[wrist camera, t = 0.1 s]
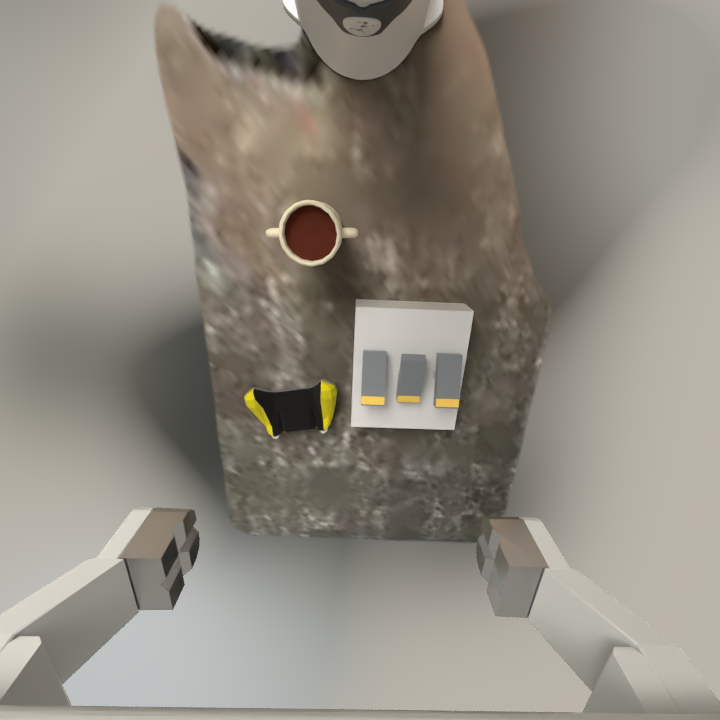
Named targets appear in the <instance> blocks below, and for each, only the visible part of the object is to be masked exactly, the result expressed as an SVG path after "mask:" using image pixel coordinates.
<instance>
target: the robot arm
mask: <svg viewBox="0 0 720 720" xmlns="http://www.w3.org/2000/svg"><path fill="white" fill-rule="evenodd" d="M282 2H283V7H284V9H285V11H286V13H287V14H288V15H289V16H290V17H291V18H292V19H293V20H294V21H295V22H296V23H297V24H298V25H300V26H301V27H302V28H303V30H304V31H305V33H306V34H307V36H308V38H309V40H310V42H311V44H312V46H313V48H314V49H315V51H316V52H317V54H318V55H319V56H320V58H321V59H322V60H323V61H324V62H325V63H326V64H327V65H328V66H329V67H330V68H331V69H333V70H334V71H336V72H337V73H339V74H341V75H343V76H345V77H348V78H352V79H357V80H369V79H374V78H378V77H381V76H383V75H385V74H387V73H389V72H390V71H392V70H393V69H394V68H396V67H397V66H398V65H399V64H400V63H401V62H402V61H403V60H404V59H405V58H406V56H407V55H408V54H409V52H410V51H411V49H412V47H413V46H414V44H415V42H416V41H417V39H418V38H419V37H420V36H421V35H422V34H423V33H424V32H426V31H427V30H429V29H430V28H431V27H433V26H434V25H435V24H436V23H437V22H438V21H439V19H440V18H441V16H442V12H443V0H282ZM195 522H196V516H195V511H194V510H191V509H174V508H148V507H137V508H135V509H134V510H132V512H131V513H130V514H129V515H128V517H127V518H126V520H125V521H124V522H123V523H122V525H121V526H120V527H119V528H118V530H117V531H116V532H115V534H114V535H113V536H112V538H111V539H110V540H109V542H108V543H107V544H106V546H105V547H104V548H103V550H102V551H101V552H100V554H99V555H98V556H97V557H96V558H90V559H88V560H86V561H85V562H83V563H82V564H80V565H79V566H77V567H75V568H74V569H72V570H71V571H69V572H67V573H66V574H64V575H62V576H61V577H59V578H58V579H56V580H55V581H53V582H51V583H50V584H48V585H46V586H45V587H43V588H42V589H40V590H38V591H37V592H35V593H34V594H32V595H31V596H29V597H27V598H26V599H24V600H23V601H21V602H19V603H18V604H16V605H15V606H13V607H11V608H10V609H8V610H7V611H5V612H3V613H2V614H0V720H720V701H719V700H718V698H717V697H716V696H715V694H714V693H713V692H712V690H711V689H710V688H709V686H708V685H707V683H706V682H705V681H704V679H703V678H702V677H701V675H700V674H699V673H698V671H697V670H696V669H695V667H694V666H693V665H692V663H691V662H690V660H689V659H688V658H687V656H686V655H685V654H684V652H683V651H682V650H681V649H680V647H679V646H678V645H676V644H675V643H674V642H672V641H671V640H670V639H668V638H667V637H666V636H664V635H663V634H662V633H660V632H659V631H658V630H656V629H655V628H654V627H652V626H651V625H650V624H649V623H647V622H646V621H644V620H643V619H642V618H641V617H639V616H638V615H636V614H635V613H634V612H633V611H631V610H630V609H628V608H627V607H626V606H624V605H623V604H622V603H621V602H619V601H618V600H617V599H615V598H614V597H612V596H611V595H610V594H609V593H607V592H606V591H604V590H603V589H602V588H601V587H599V586H598V585H597V584H595V583H594V582H593V581H591V580H590V579H589V578H587V577H586V576H585V575H583V574H582V573H581V572H579V571H578V570H576V569H570V567H569V565H568V563H567V562H566V560H565V559H564V557H563V555H562V554H561V552H560V550H559V549H558V547H557V545H556V544H555V542H554V541H553V539H552V537H551V536H550V534H549V532H548V531H547V529H546V527H545V526H544V524H543V522H542V521H541V520H540V519H538V518H531V517H520V518H518V517H484V518H483V520H482V523H481V529H482V532H483V535H482V536H480V537H479V538H478V541H477V547H476V553H477V562H478V566H479V570H480V573H481V575H482V576H483V577H484V578H485V579H486V580H487V581H488V582H489V584H488V588H487V593H488V596H489V599H490V602H491V605H492V608H493V610H494V613H495V616H505V617H523V618H528V620H529V621H530V623H531V624H532V625H533V626H534V627H535V628H536V629H537V630H538V631H539V632H540V634H541V635H542V636H543V637H544V638H545V639H546V641H547V642H548V643H549V644H550V645H551V646H552V647H553V648H554V650H555V651H556V652H557V653H558V654H559V655H560V656H561V657H562V658H563V660H564V661H565V662H566V663H567V664H568V665H569V666H570V667H571V668H572V670H573V671H574V672H575V673H576V674H577V675H578V676H579V678H580V679H581V680H582V681H583V682H584V683H585V684H586V685H587V687H589V689H590V690H591V691H592V693H591V695H590V697H589V700H588V702H587V704H586V706H585V708H584V710H583V712H582V713H572V712H571V713H570V712H496V711H494V712H492V711H423V710H422V711H421V710H420V711H419V710H353V709H352V710H350V709H347V710H346V709H271V708H267V709H266V708H193V707H118V706H116V707H115V706H71V703H70V700H69V698H68V696H67V694H66V692H65V690H64V687H63V685H62V684H63V683H64V682H65V681H66V680H67V679H68V678H69V677H71V676H72V674H74V673H75V672H76V671H77V670H78V669H79V668H80V667H81V666H82V665H83V664H84V663H85V662H86V661H88V660H89V659H90V658H91V656H93V655H94V654H95V653H96V652H97V651H98V650H99V649H100V648H101V647H102V646H103V645H104V644H106V643H107V642H108V641H109V640H110V639H111V638H112V637H113V636H114V635H115V634H116V633H117V632H118V631H119V630H120V629H121V628H123V627H124V626H125V625H126V624H127V623H128V622H129V621H130V620H131V619H132V618H133V617H134V616H135V615H136V614H137V613H138V612H139V611H138V610H173V608H174V606H175V604H176V602H177V600H178V598H179V595H180V593H181V591H182V589H183V587H184V585H185V584H184V579H183V576H184V575H185V574H186V573H187V572H188V571H190V570H191V569H192V567H193V565H194V563H195V561H196V558H197V554H198V550H199V540H200V538H199V532H198V531H197V530H196V529H195V528H194V527H193V525H194V524H195Z"/></svg>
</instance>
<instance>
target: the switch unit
mask: <svg viewBox="0 0 720 720" xmlns="http://www.w3.org/2000/svg"><path fill="white" fill-rule="evenodd" d="M473 314H474V311H473V310H472V309H470V308H469V307H468V306H467V305H466V304H465V303H443V302H418V301H393V300H369V299H356V308H355V334H354V360H353V385H352V411H351V427H378V428H409V429H441V430H454V428H455V422H456V416H457V410H458V409H455V408H435V407H434V405H433V400H434V386H435V371H436V357H437V353H459V354H462V355H463V358H462V370H461V383H460V392H461V386H462V380H463V374H464V368H465V362H466V356H467V350H468V344H469V338H470V332H471V326H472V320H473ZM363 350H378V351H386V352H387V358H386V378H385V399H384V406H365V405H361V384H362V360H363ZM402 354H425V355H426V359H427V364H426V369H425V374H424V379H423V385H422V390H421V395H420V401H419V403H397V400H396V391H397V384H398V377H399V370H400V362H401V355H402ZM459 398H460V395H459Z"/></svg>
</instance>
